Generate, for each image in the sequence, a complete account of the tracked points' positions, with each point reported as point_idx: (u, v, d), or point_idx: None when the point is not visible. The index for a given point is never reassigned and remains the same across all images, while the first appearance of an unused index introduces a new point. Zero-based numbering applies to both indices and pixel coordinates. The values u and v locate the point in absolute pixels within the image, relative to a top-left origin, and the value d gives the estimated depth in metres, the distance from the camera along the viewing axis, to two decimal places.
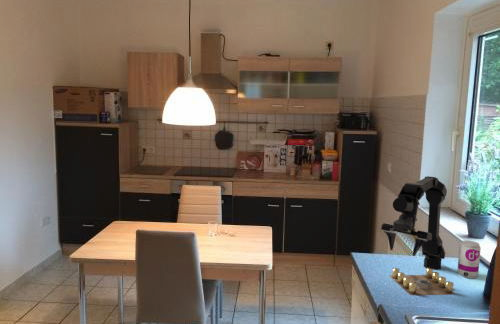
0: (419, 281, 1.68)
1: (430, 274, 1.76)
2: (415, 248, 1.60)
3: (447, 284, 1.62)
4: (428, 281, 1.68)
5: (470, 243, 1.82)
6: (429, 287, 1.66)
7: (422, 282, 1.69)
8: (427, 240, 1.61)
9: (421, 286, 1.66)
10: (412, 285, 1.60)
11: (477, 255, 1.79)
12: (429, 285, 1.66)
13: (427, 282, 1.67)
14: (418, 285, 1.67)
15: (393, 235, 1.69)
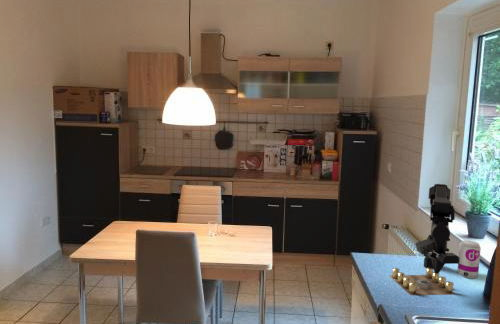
0: (419, 281, 1.68)
1: (430, 274, 1.76)
2: (435, 266, 1.57)
3: (447, 284, 1.62)
4: (428, 281, 1.68)
5: (470, 243, 1.82)
6: (429, 287, 1.66)
7: (422, 282, 1.69)
8: None
9: (421, 286, 1.66)
10: (412, 285, 1.60)
11: (477, 255, 1.79)
12: (429, 285, 1.66)
13: (427, 282, 1.67)
14: (418, 285, 1.67)
15: None
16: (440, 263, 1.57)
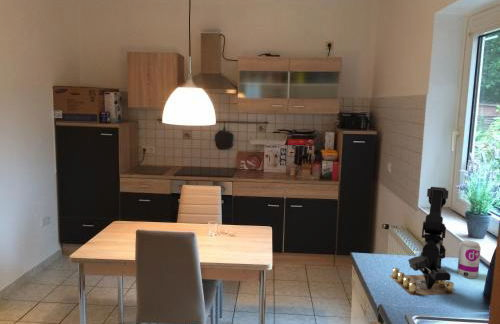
0: (419, 281, 1.68)
1: None
2: (427, 282, 1.63)
3: (447, 284, 1.62)
4: None
5: (470, 243, 1.82)
6: None
7: (422, 282, 1.69)
8: None
9: (421, 286, 1.66)
10: (412, 285, 1.60)
11: (477, 255, 1.79)
12: None
13: None
14: (418, 285, 1.67)
15: None
16: (432, 279, 1.62)
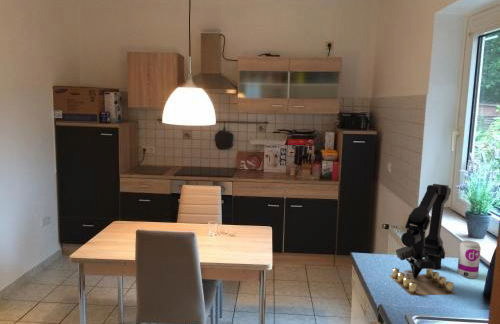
0: (406, 271, 1.79)
1: (430, 274, 1.76)
2: (413, 271, 1.74)
3: (447, 284, 1.62)
4: None
5: (470, 243, 1.82)
6: None
7: (409, 272, 1.80)
8: None
9: (408, 276, 1.76)
10: (412, 285, 1.60)
11: (477, 255, 1.79)
12: None
13: None
14: (405, 275, 1.78)
15: None
16: (418, 268, 1.73)
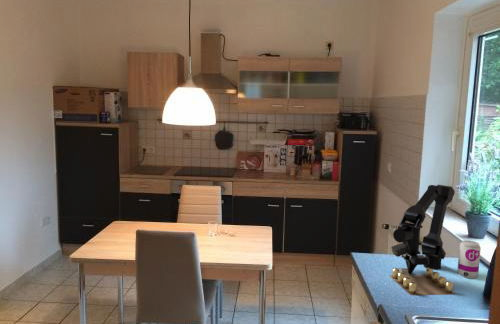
0: (401, 269, 1.83)
1: (430, 274, 1.76)
2: (408, 267, 1.78)
3: (447, 284, 1.62)
4: None
5: (470, 243, 1.82)
6: None
7: (404, 270, 1.84)
8: None
9: (403, 272, 1.81)
10: (412, 285, 1.60)
11: (477, 255, 1.79)
12: None
13: None
14: None
15: None
16: (413, 264, 1.77)
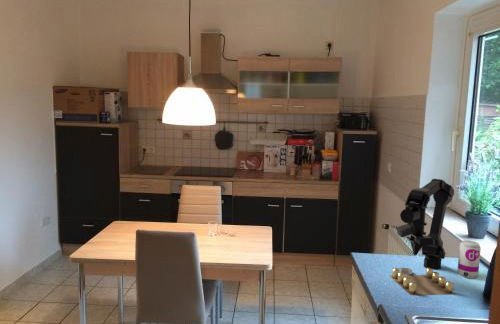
0: (401, 268, 1.83)
1: (430, 274, 1.76)
2: (414, 248, 1.75)
3: (447, 284, 1.62)
4: None
5: (470, 243, 1.82)
6: (410, 273, 1.81)
7: (403, 269, 1.84)
8: None
9: (402, 272, 1.81)
10: (412, 285, 1.60)
11: (477, 255, 1.79)
12: (410, 271, 1.81)
13: (408, 269, 1.83)
14: None
15: None
16: (418, 245, 1.74)
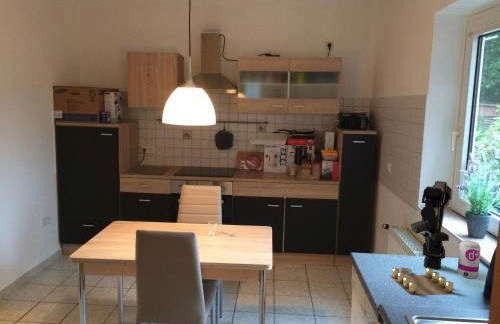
0: (401, 268, 1.83)
1: (430, 274, 1.76)
2: (428, 244, 1.77)
3: (447, 284, 1.62)
4: None
5: (470, 243, 1.82)
6: (410, 273, 1.81)
7: (403, 269, 1.84)
8: None
9: (402, 272, 1.81)
10: (412, 285, 1.60)
11: (477, 255, 1.79)
12: (410, 271, 1.81)
13: (408, 269, 1.83)
14: None
15: None
16: (432, 241, 1.77)
